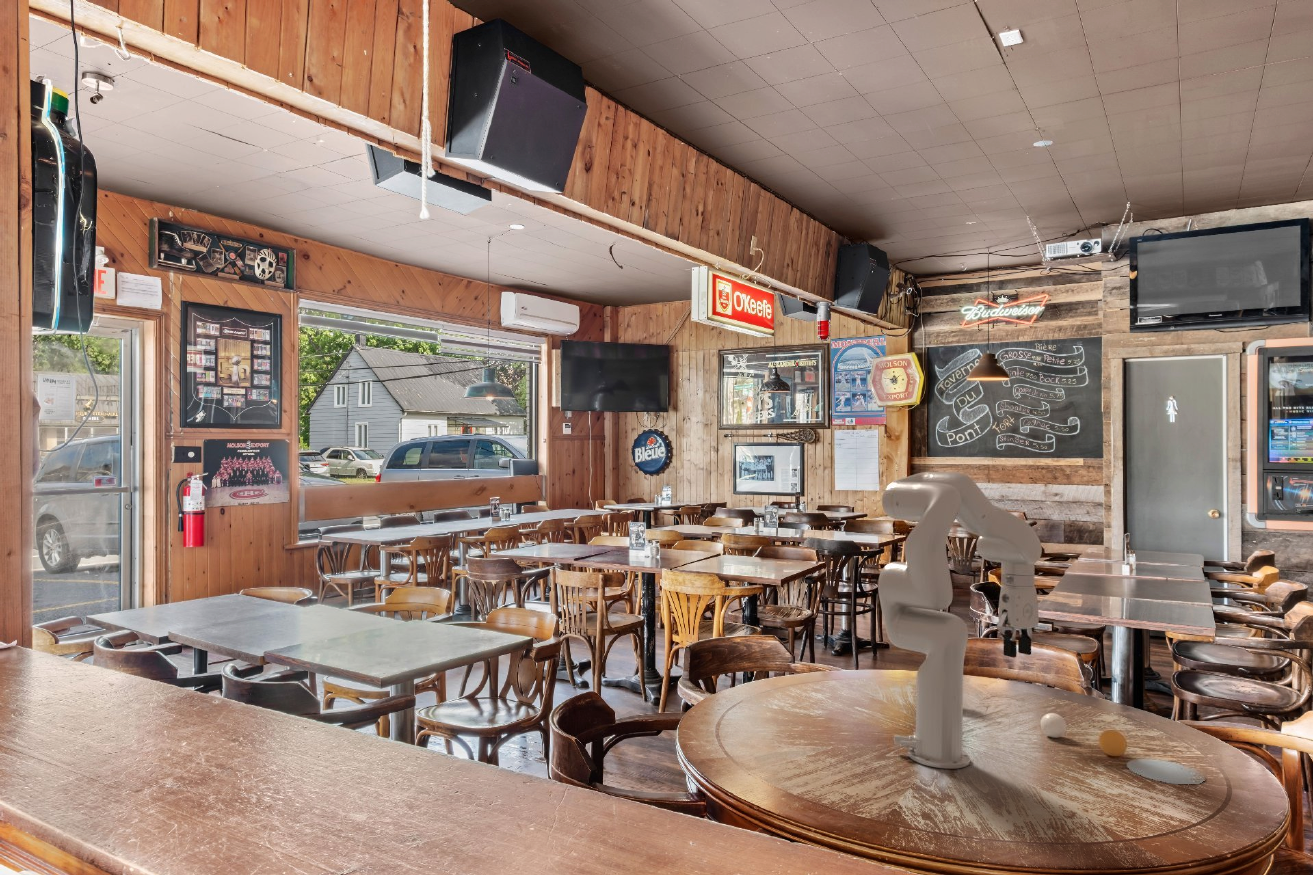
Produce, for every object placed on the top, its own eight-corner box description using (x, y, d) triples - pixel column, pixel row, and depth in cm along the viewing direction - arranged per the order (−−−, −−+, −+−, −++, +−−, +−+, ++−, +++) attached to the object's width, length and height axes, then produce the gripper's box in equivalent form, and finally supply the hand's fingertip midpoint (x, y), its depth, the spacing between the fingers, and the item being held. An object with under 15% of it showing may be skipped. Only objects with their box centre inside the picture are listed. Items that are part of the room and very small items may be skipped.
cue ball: (1043, 739, 191) (1043, 715, 192) (1038, 732, 197) (1038, 709, 197) (1069, 741, 190) (1069, 717, 190) (1062, 734, 196) (1063, 711, 196)
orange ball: (1102, 758, 180) (1103, 733, 180) (1095, 750, 185) (1095, 725, 185) (1130, 761, 178) (1130, 735, 178) (1122, 752, 184) (1122, 727, 184)
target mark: (1140, 780, 167) (1140, 779, 167) (1117, 756, 181) (1117, 756, 181) (1217, 788, 164) (1217, 787, 164) (1188, 763, 178) (1188, 762, 178)
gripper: (1009, 585, 195) (1009, 662, 194) (1052, 580, 204) (1052, 654, 203) (982, 581, 201) (982, 655, 201) (1024, 577, 210) (1024, 648, 210)
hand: (1017, 654), depth 202 cm, fingers open, 5 cm apart
